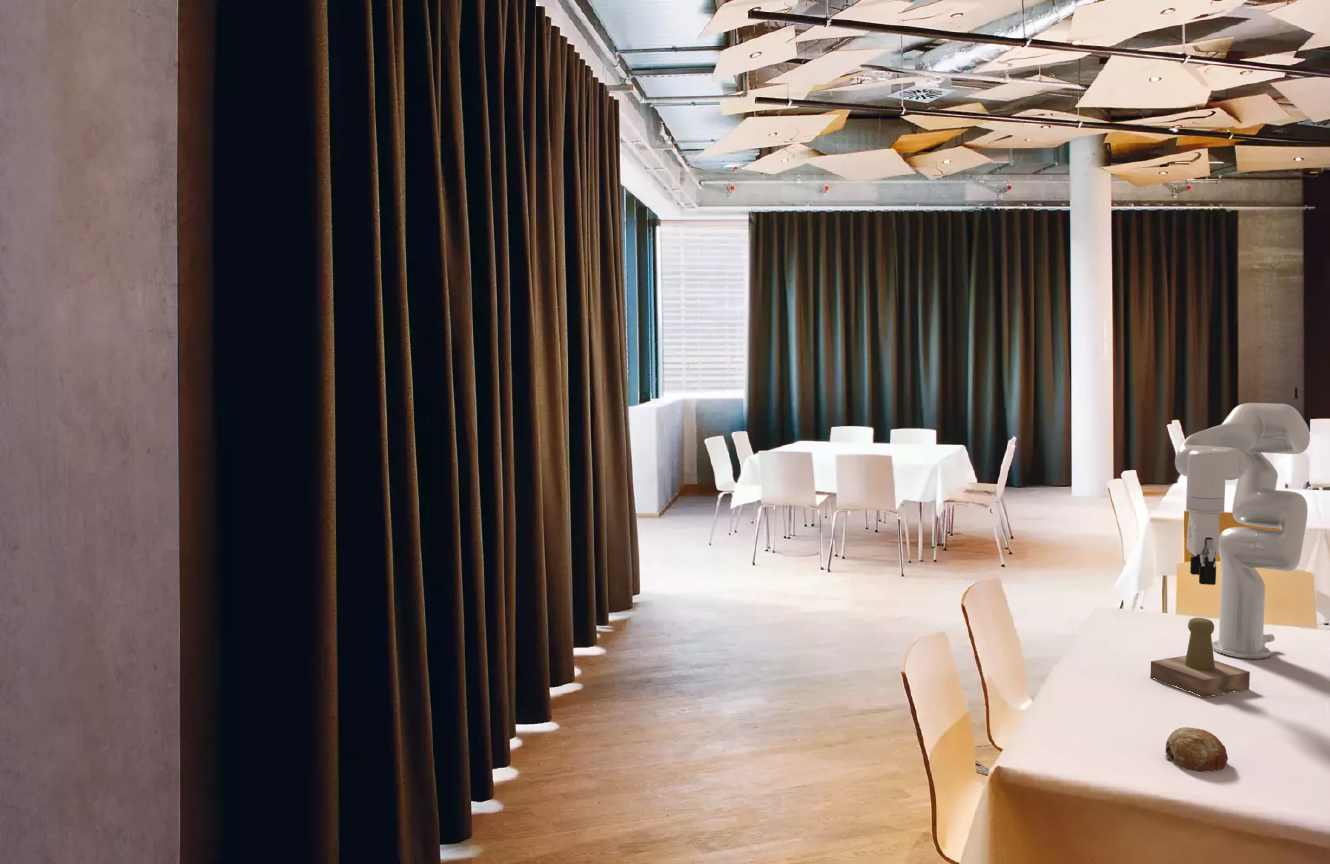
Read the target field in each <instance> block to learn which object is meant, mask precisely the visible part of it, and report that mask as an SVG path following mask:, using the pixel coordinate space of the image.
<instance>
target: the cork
mask: <svg viewBox="0 0 1330 864" xmlns="http://www.w3.org/2000/svg"><path fill="white" fill-rule="evenodd" d="M1187 627H1188V628H1187V629H1188V630H1189V632H1190V634H1189V639H1188V645H1187V652H1186V655H1185V656H1186V660H1185V665H1186V666H1187V667H1189V668H1193V669H1197V670H1213V669H1215V664H1214V660H1215V658H1214V657H1215V655H1214V650H1213V647H1212V643H1213V639H1212V638H1213V637H1212V634H1213V633H1214V630H1215V625H1214V622H1213V621H1212V620H1210V619H1208V618H1204V617H1193V618H1190V619H1189V621H1188V623H1187Z"/></svg>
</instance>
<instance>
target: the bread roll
mask: <svg viewBox="0 0 1330 864" xmlns="http://www.w3.org/2000/svg"><path fill="white" fill-rule="evenodd" d="M1165 753H1166V754H1165V759H1166V760H1168V761H1169V762H1171V763H1173V762H1174V763H1173V764H1175V765H1177V766H1180V767H1182V768H1183V769H1186V770H1189V769H1191V770H1190V771H1193V770H1196V771H1195V772H1201V771H1211V772H1215V771H1214V770H1217V771H1220V770H1219V769H1221V770H1223V769H1224V768H1225V766H1227V762H1228V760H1229V757H1228V754H1227V747H1225V744H1224V745H1223V743H1222V742H1221V740H1220V739H1219V738H1218V737H1217V735H1214V734H1213V733H1212V732H1210V731H1207V730H1205V729H1203V728H1202V729H1201V728H1196V727H1189V726H1187V727H1180V728H1177V729H1175V730H1174V731H1172V732H1171V733H1170V735H1169V736H1168V738H1167V739H1166V743H1165Z"/></svg>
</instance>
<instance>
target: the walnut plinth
mask: <svg viewBox="0 0 1330 864" xmlns="http://www.w3.org/2000/svg"><path fill="white" fill-rule="evenodd" d="M1185 660H1186V655H1182V656H1181V655H1180V656H1176V657H1175V656H1174V657H1169V658H1163V659H1162V658H1161V659H1156V660H1151V661H1150V679H1152V678H1155V679H1157V680H1159V681H1158V682H1160V681H1162V682H1161V683H1163V682H1165V683H1167V684H1166V685H1168V684H1170V685H1169V686H1171V685H1174V686H1177V687H1179V688H1182V689H1184V690H1186V691H1185V692H1187V691H1191V692H1193V693H1195V694H1198V695H1200V696H1202V697H1201V698H1203V697H1205V698H1208V697H1207V696H1210V697H1213V696H1212V695H1216V696H1219V695H1218V694H1221V695H1224V694H1223V693H1226V694H1230V693H1229V692H1232V693H1234V692H1233V691H1237V692H1241V691H1242V692H1243V691H1247V690H1250V679H1251V678H1250V677H1251V672H1250V671H1249V670H1245V669H1242V668H1240V667H1236V666H1233V665H1230V664H1228V663H1223V662H1222V661H1218V660H1215V659H1214V664H1215V669H1213V670H1197V669H1193V668H1189V667H1187V666H1186V665H1185ZM1157 680H1156V681H1157ZM1165 683H1164V684H1165ZM1179 688H1178V689H1179ZM1184 690H1183V691H1184ZM1195 694H1194V695H1195ZM1198 695H1197V696H1198ZM1200 696H1199V697H1200Z"/></svg>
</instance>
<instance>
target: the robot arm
mask: <svg viewBox="0 0 1330 864" xmlns="http://www.w3.org/2000/svg"><path fill="white" fill-rule="evenodd" d="M1310 441H1311V434H1310V429H1309V427H1308V424H1307V423H1306V420H1305V419H1304V418H1303V416H1302V415H1301V413H1300V412H1299V411H1298V410H1297V409H1296V408H1295V407H1293V405H1289V404H1286V403H1272V402H1271V403H1268V402H1265V403H1264V402H1246V403H1241V404H1239V405H1237V406H1236V407H1234V408H1233V409H1232V410H1231V412H1230V413H1229V414H1228V415H1227V416H1226V418H1225V419H1224V421H1223V422H1222V423H1221V424H1219V425H1216V426H1212V427H1210V428H1207V429H1204V430H1200V431H1197V432H1195V433H1193V434H1191V435H1189V436H1187V437H1186V439H1184V441H1183V442H1182V444H1181V445H1180V446H1179V448H1178V449H1177V452H1176V453H1175V454H1176V455H1175V458H1174V459H1175V460H1174V467H1175V468H1176V471H1177V472H1178V473H1179V474H1180V475H1182V476H1184V477H1186V497H1185V499H1186V501H1185V502H1186V503H1185V504H1186V505H1185V511H1187V512H1189V513H1188V521H1187V532H1186V533H1187V534H1186V535H1187V536H1186V544H1185V545H1186V549H1187V551H1188V552H1189V553H1190V564H1189V565H1190V566H1189V567H1190V569H1189V573H1190V574H1191V575H1192V576H1193V575H1195V576H1198V583H1199V584H1200V585H1206V586H1207V585H1209V586H1215V585H1216V584H1217V561H1216V560H1217V559H1216V557H1217V556H1218V555H1219V560H1220V572H1221V573H1220V574H1221V575H1220V597H1219V598H1220V599H1219V600H1220V601H1219V602H1220V605H1219V625H1218V626H1219V631H1218V640H1214V641H1212V647H1213V651H1214V652H1217V653H1220V654H1221V653H1223V654H1222V655H1224V654H1226V655H1225V656H1228V655H1229V657H1233V656H1234V658H1239V659H1248V660H1249V659H1251V660H1253V659H1254V660H1258V659H1259V660H1261V659H1266V658H1268V657H1270V655H1271V650H1270V649H1269V648H1268V647H1266V643H1273V642H1275V640H1276V639H1275V636H1274V634H1272V633H1269V634H1267V633H1266V634H1265V633H1264V626H1265V602H1266V599H1265V597H1266V584H1265V582H1264V579H1263V577H1262V576H1261V575H1260V573H1259V572H1258V570H1257V569H1265V570H1274V571H1282V572H1283V571H1284V572H1289V571H1293V570H1295V569H1296V568H1297V567H1298V566H1299V564H1300V560H1301V556H1302V550H1303V545H1304V539H1305V533H1306V527H1307V523H1308V522H1307V520H1308V504H1307V500H1306V497H1305V496H1304V495H1302V494H1301V493H1299V492H1296V491H1290V490H1281V489H1280V490H1277V482H1278V477H1279V474H1278V471H1277V469H1276V468H1275V466H1274V464H1272V463H1271V461H1270V460H1269V459H1268V458H1267V457H1265V455H1264V454H1263V453H1265V454H1267V453H1268V454H1281V455H1282V454H1284V455H1299V454H1302V453H1304V452H1305V451H1306V450H1307V449H1308V448H1309V445H1310ZM1235 480H1237V482H1236V486H1235V492H1234V498H1233V503H1232V508H1231V509H1232V517H1233V519H1234V520H1235V521H1236V522H1237V523H1239V524H1243V525H1246V526H1252V527H1245V526H1234V527H1233V526H1232V527H1229V528H1225V529H1224V530H1223V531H1222V532H1220V514H1223V513H1225V501H1226V500H1225V498H1226V497H1225V496H1226V481H1235ZM1254 527H1255V528H1254ZM1256 527H1261V528H1256ZM1262 528H1271V529H1278V530H1279V529H1280V530H1279V531H1278V530H1271V529H1270V530H1269V529H1262Z"/></svg>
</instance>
